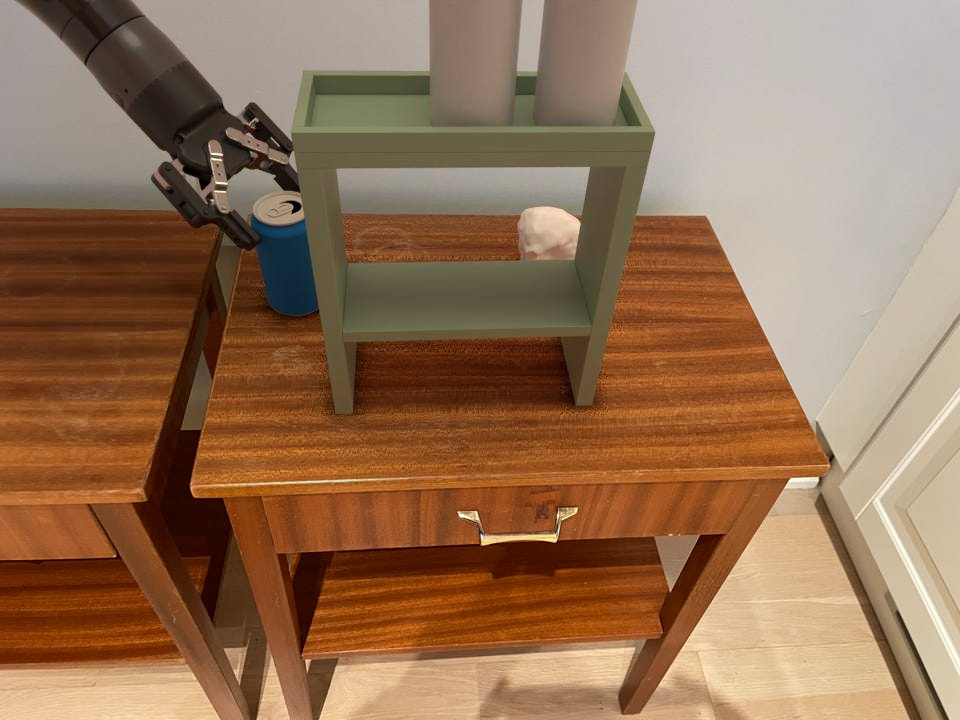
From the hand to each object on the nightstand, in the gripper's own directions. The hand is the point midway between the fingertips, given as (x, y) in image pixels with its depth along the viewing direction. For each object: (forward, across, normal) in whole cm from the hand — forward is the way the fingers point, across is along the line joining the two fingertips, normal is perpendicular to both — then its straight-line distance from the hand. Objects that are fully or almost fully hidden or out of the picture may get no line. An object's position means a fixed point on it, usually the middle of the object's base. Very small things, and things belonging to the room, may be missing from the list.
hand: (281, 222), depth 72 cm
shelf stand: (+22, -2, -8) cm, 23 cm away
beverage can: (+8, 0, +7) cm, 10 cm away
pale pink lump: (+25, +18, -10) cm, 32 cm away
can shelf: (+4, -2, -26) cm, 26 cm away
